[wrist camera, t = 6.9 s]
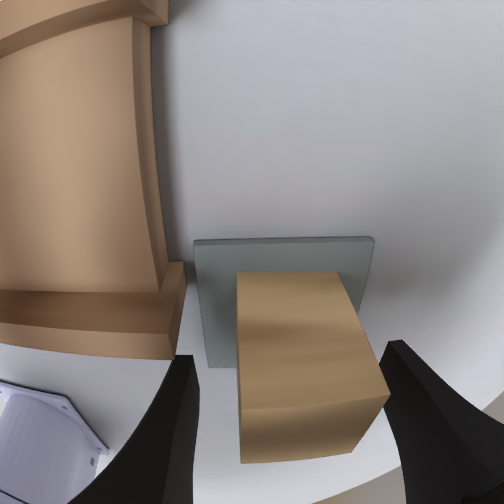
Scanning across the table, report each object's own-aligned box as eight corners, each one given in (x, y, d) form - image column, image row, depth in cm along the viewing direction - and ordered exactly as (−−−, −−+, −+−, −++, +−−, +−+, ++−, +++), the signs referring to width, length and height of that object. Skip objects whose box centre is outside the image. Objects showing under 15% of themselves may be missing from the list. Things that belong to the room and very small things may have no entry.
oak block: (320, 340, 14) (351, 452, 9) (236, 343, 14) (240, 463, 9) (336, 271, 12) (390, 394, 7) (236, 272, 12) (241, 409, 7)
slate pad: (342, 353, 16) (344, 359, 15) (209, 361, 15) (208, 367, 15) (371, 236, 12) (374, 241, 12) (193, 240, 12) (192, 245, 11)
